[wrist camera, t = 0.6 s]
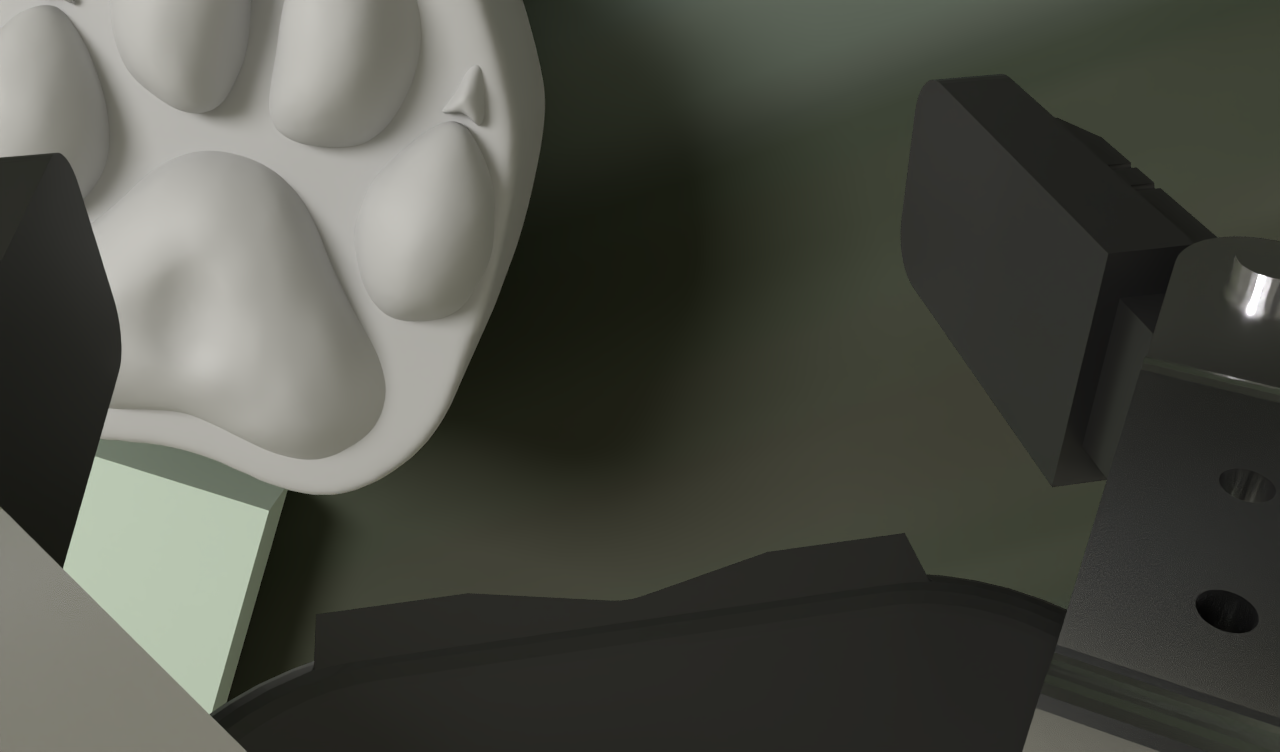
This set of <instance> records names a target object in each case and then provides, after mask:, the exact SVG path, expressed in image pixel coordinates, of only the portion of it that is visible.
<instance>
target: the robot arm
mask: <svg viewBox="0 0 1280 752" xmlns="http://www.w3.org/2000/svg"><path fill="white" fill-rule="evenodd" d="M901 250H902V257H903V263H904V267H905V270H906V273H907V276H908V279H909V281H910V283H911V285H912V286H913V288H914V289H915V291H916V292H917V294H918V295H919V296H920V298H921V299H922V301H923V302H924V304H925V305H926V307H927V308H928V309H929V311H930V312H931V314H932V315H933V317H934V318H935V319H936V321H937V322H938V324H939V325H940V327H941V328H942V330H943V331H944V332H945V334H946V335H947V337H948V338H949V340H950V341H951V342H952V344H953V345H954V347H955V348H956V350H957V351H958V353H959V354H960V355H961V357H962V358H963V360H964V361H965V363H966V364H967V365H968V367H969V368H970V370H971V371H972V373H973V374H974V376H975V377H976V378H977V380H978V381H979V383H980V384H981V386H982V387H983V388H984V390H985V391H986V393H987V394H988V396H989V397H990V399H991V400H992V401H993V403H994V404H995V406H996V407H997V409H998V410H999V411H1000V413H1001V414H1002V416H1003V417H1004V419H1005V420H1006V422H1007V423H1008V424H1009V426H1010V427H1011V429H1012V430H1013V432H1014V433H1015V434H1016V436H1017V437H1018V439H1019V440H1020V442H1021V443H1022V445H1023V446H1024V447H1025V449H1026V450H1027V452H1028V453H1029V455H1030V456H1031V457H1032V459H1033V460H1034V462H1035V463H1036V465H1037V466H1038V467H1039V469H1040V470H1041V472H1042V473H1043V475H1044V476H1045V478H1046V479H1047V480H1048V482H1049V483H1050V485H1051V486H1052V487H1056V486H1064V485H1071V484H1078V483H1086V482H1093V481H1101V480H1107V482H1106V485H1105V488H1104V491H1103V495H1102V498H1101V501H1100V505H1099V508H1098V511H1097V514H1096V518H1095V521H1094V524H1093V527H1092V531H1091V534H1090V537H1089V541H1088V544H1087V547H1086V550H1085V554H1084V557H1083V560H1082V564H1081V567H1080V570H1079V573H1078V577H1077V580H1076V583H1075V586H1074V590H1073V593H1072V596H1071V600H1070V603H1069V606H1068V609H1067V610H1066V609H1064V608H1061V607H1059V606H1057V605H1054V604H1052V603H1050V602H1047V601H1045V600H1043V599H1040V598H1037V597H1033V596H1030V595H1027V594H1024V593H1021V592H1018V591H1015V590H1012V589H1009V588H1005V587H1001V586H997V585H992V584H988V583H984V582H980V581H975V580H969V579H962V578H955V577H948V576H940V575H926V573H925V571H924V569H923V567H922V566H921V564H920V562H919V560H918V558H917V556H916V554H915V552H914V550H913V548H912V546H911V544H910V542H909V541H908V539H907V537H906V535H905V533H902V534H895V535H888V536H880V537H873V538H866V539H859V540H851V541H844V542H837V543H830V544H823V545H815V546H808V547H801V548H794V549H786V550H779V551H772V552H766V553H763V554H761V555H758V556H755V557H752V558H749V559H746V560H744V561H741V562H738V563H735V564H732V565H729V566H727V567H724V568H721V569H718V570H715V571H712V572H710V573H707V574H704V575H701V576H698V577H696V578H693V579H690V580H687V581H684V582H681V583H679V584H676V585H673V586H670V587H667V588H664V589H662V590H659V591H656V592H653V593H650V594H647V595H645V596H642V597H638V598H634V599H629V600H622V601H605V600H586V599H566V598H547V597H527V596H508V595H488V594H469V593H468V594H461V595H453V596H446V597H439V598H432V599H424V600H417V601H410V602H403V603H395V604H388V605H381V606H374V607H367V608H359V609H352V610H345V611H338V612H330V613H323V614H316V631H315V652H314V661H313V662H310V663H308V664H305V665H302V666H299V667H297V668H294V669H291V670H289V671H287V672H284V673H282V674H280V675H278V676H276V677H274V678H271V679H269V680H267V681H265V682H263V683H260V684H258V685H256V686H254V687H253V688H251V689H249V690H247V691H246V692H244V693H242V694H240V695H239V696H237V697H235V698H233V699H232V700H230V701H228V702H226V703H225V704H223V705H222V706H220V707H219V708H217V709H216V710H215V711H213V712H212V713H210V714H208V713H207V712H206V711H205V710H204V709H203V708H202V707H201V706H200V705H199V704H198V703H197V702H196V701H195V700H194V699H193V698H192V697H191V696H190V695H189V694H188V693H187V692H186V691H185V690H184V689H183V688H182V687H181V686H180V685H179V684H178V683H177V682H176V681H175V680H174V679H173V678H172V677H171V676H170V675H169V674H168V673H167V672H166V671H165V670H164V669H163V668H162V667H161V666H160V665H159V664H158V663H157V662H156V661H155V660H154V659H153V658H152V657H151V656H150V655H149V654H148V653H147V652H146V651H145V650H144V649H143V648H142V647H141V646H140V645H139V644H138V643H137V642H136V641H135V640H134V639H133V638H132V637H131V636H130V635H129V634H128V633H127V632H126V631H125V630H124V629H123V628H122V627H121V626H120V625H119V624H118V623H117V622H116V621H115V620H114V619H113V618H112V617H111V616H110V615H109V614H108V613H107V612H106V611H105V610H104V609H103V608H102V607H101V606H100V605H99V604H98V603H97V602H96V601H95V600H94V599H93V598H92V597H91V596H90V595H89V594H88V593H87V592H86V591H85V590H84V589H83V588H82V587H81V586H80V585H79V584H78V583H77V582H76V581H75V580H74V579H73V578H72V577H71V576H70V575H69V574H68V573H67V572H66V571H64V570H63V567H64V563H65V560H66V556H67V553H68V549H69V546H70V542H71V539H72V535H73V532H74V528H75V525H76V521H77V518H78V514H79V511H80V507H81V504H82V500H83V497H84V493H85V490H86V486H87V483H88V479H89V476H90V472H91V469H92V465H93V462H94V458H95V455H96V451H97V448H98V444H99V441H100V437H101V434H102V430H103V427H104V423H105V420H106V416H107V413H108V409H109V406H110V402H111V399H112V395H113V392H114V388H115V385H116V381H117V377H118V374H119V370H120V365H121V353H122V346H121V331H120V324H119V318H118V313H117V308H116V304H115V301H114V297H113V294H112V291H111V288H110V284H109V281H108V278H107V275H106V272H105V268H104V265H103V262H102V259H101V255H100V252H99V249H98V246H97V242H96V239H95V236H94V233H93V230H92V226H91V223H90V220H89V217H88V213H87V210H86V207H85V204H84V200H83V197H82V194H81V191H80V188H79V184H78V181H77V179H76V176H75V173H74V171H73V169H72V167H71V165H70V163H69V162H68V160H67V159H66V158H65V157H64V156H63V155H62V154H61V153H47V154H35V155H24V156H12V157H0V752H1280V241H1276V240H1270V239H1264V238H1255V237H1219V238H1217V237H1216V236H1215V235H1214V234H1213V233H1212V232H1210V231H1209V230H1208V229H1207V228H1206V227H1205V226H1204V225H1202V224H1201V223H1200V222H1199V221H1198V220H1197V219H1195V218H1194V217H1193V216H1192V215H1191V214H1190V213H1188V212H1187V211H1186V210H1185V209H1184V208H1183V207H1182V206H1180V205H1179V204H1178V203H1177V202H1176V201H1175V200H1173V199H1172V198H1171V197H1170V196H1169V195H1168V194H1167V193H1165V192H1164V191H1163V190H1162V189H1161V188H1158V189H1155V188H1154V182H1153V181H1151V180H1150V179H1149V178H1148V177H1147V176H1146V175H1145V174H1143V173H1142V172H1141V171H1140V170H1139V169H1138V168H1131V162H1129V161H1128V160H1127V159H1126V158H1125V157H1124V156H1123V155H1121V154H1120V153H1119V152H1118V151H1117V150H1116V149H1114V148H1113V147H1112V146H1111V145H1110V144H1109V143H1108V142H1106V141H1105V140H1104V139H1103V138H1102V137H1099V136H1097V135H1095V134H1093V133H1090V132H1088V131H1086V130H1084V129H1081V128H1079V127H1077V126H1075V125H1072V124H1070V123H1068V122H1066V121H1063V120H1061V119H1059V118H1054V117H1053V116H1052V115H1051V114H1050V113H1049V112H1048V111H1047V110H1045V109H1044V108H1043V107H1042V106H1041V105H1040V104H1039V103H1038V102H1036V101H1035V100H1034V99H1033V98H1032V97H1031V96H1030V95H1029V94H1028V93H1026V92H1025V91H1024V90H1023V89H1022V88H1021V87H1020V86H1019V85H1017V84H1016V83H1015V82H1014V81H1013V80H1012V79H1011V78H1010V77H1008V76H1007V75H1004V74H997V75H985V76H973V77H961V78H949V79H938V80H930V81H928V82H927V83H926V84H925V85H924V86H923V88H922V90H921V91H920V94H919V97H918V100H917V104H916V110H915V117H914V125H913V133H912V141H911V149H910V157H909V165H908V173H907V180H906V188H905V196H904V204H903V212H902V220H901Z"/></svg>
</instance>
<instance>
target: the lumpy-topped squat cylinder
mask: <svg viewBox="0 0 1280 752" xmlns="http://www.w3.org/2000/svg"><path fill="white" fill-rule="evenodd" d="M544 118H545V92H544V84H543V78H542V72H541V67H540V63H539V58H538V54H537V50H536V46H535V42H534V38H533V34H532V30H531V27H530V23H529V20H528V16H527V13H526V9H525V6H524V3H523V0H0V157H12V156H24V155H35V154H47V153H61V154H62V155H63V156H64V157H65V158H66V159H67V160H68V162H69V163H70V165H71V167H72V169H73V171H74V173H75V176H76V179H77V181H78V184H79V188H80V191H81V194H82V197H83V200H84V204H85V207H86V210H87V213H88V217H89V220H90V223H91V226H92V230H93V233H94V236H95V239H96V242H97V246H98V249H99V252H100V255H101V259H102V262H103V265H104V268H105V272H106V275H107V278H108V281H109V284H110V288H111V291H112V294H113V297H114V301H115V304H116V308H117V313H118V318H119V324H120V331H121V346H122V353H121V365H120V370H119V374H118V377H117V381H116V385H115V388H114V392H113V395H112V399H111V402H110V406H109V409H108V413H107V416H106V420H105V423H104V427H103V430H102V434H101V437H100V439H105V440H119V441H127V442H136V443H148V444H156V445H162V446H167V447H172V448H177V449H181V450H185V451H189V452H192V453H196V454H199V455H202V456H205V457H208V458H210V459H213V460H216V461H218V462H221V463H223V464H225V465H227V466H229V467H231V468H234V469H236V470H238V471H240V472H243V473H246V474H248V475H250V476H252V477H254V478H256V479H258V480H261V481H263V482H266V483H269V484H272V485H275V486H278V487H281V488H284V489H288V490H291V491H295V492H300V493H306V494H313V495H334V494H341V493H346V492H349V491H354V490H357V489H359V488H362V487H364V486H367V485H369V484H371V483H374V482H376V481H378V480H380V479H382V478H383V477H385V476H386V475H388V474H389V473H391V472H393V471H394V470H395V469H397V468H398V467H400V466H401V465H402V464H404V463H405V462H406V461H408V460H409V459H410V458H412V457H413V456H414V455H415V454H416V453H417V452H418V451H419V450H420V449H421V448H422V447H423V446H424V444H425V443H426V442H427V441H428V440H429V439H430V437H431V436H432V435H433V434H434V432H435V431H436V429H437V428H438V426H439V425H440V423H441V422H442V420H443V418H444V417H445V415H446V413H447V411H448V409H449V407H450V405H451V403H452V401H453V399H454V397H455V395H456V392H457V390H458V387H459V385H460V383H461V381H462V378H463V376H464V374H465V372H466V369H467V367H468V365H469V363H470V360H471V358H472V356H473V354H474V351H475V349H476V347H477V345H478V342H479V340H480V338H481V336H482V333H483V331H484V329H485V327H486V324H487V322H488V320H489V318H490V315H491V313H492V311H493V309H494V306H495V304H496V301H497V298H498V296H499V293H500V290H501V287H502V285H503V282H504V279H505V276H506V274H507V271H508V269H509V266H510V263H511V261H512V258H513V255H514V252H515V249H516V247H517V244H518V240H519V237H520V234H521V231H522V227H523V224H524V220H525V216H526V212H527V209H528V205H529V201H530V197H531V192H532V188H533V184H534V179H535V174H536V170H537V165H538V159H539V154H540V148H541V142H542V136H543V128H544Z"/></svg>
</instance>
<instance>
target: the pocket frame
mask: <svg viewBox="0 0 1280 752" xmlns="http://www.w3.org/2000/svg"><path fill="white" fill-rule="evenodd" d="M287 490H288V489H284V488H281V487H278V486H275V485H272V484H269V483H266V482H263V481H261V480H258V479H256V478H254V477H252V476H250V475H248V474H246V473H243V472H240V471H238V470H236V469H234V468H231V467H229V466H227V465H225V464H223V463H221V462H218V461H216V460H213V459H210V458H208V457H205V456H202V455H199V454H196V453H192V452H189V451H185V450H181V449H177V448H172V447H167V446H162V445H156V444H148V443H136V442H127V441H119V440H105V439H100V441H99V444H98V448H97V451H96V455H95V458H94V462H93V465H92V469H91V472H90V476H89V479H88V483H87V486H86V490H85V493H84V497H83V500H82V504H81V507H80V511H79V514H78V518H77V521H76V525H75V528H74V532H73V535H72V539H71V542H70V546H69V549H68V553H67V556H66V560H65V563H64V567H63V570H64V571H66V572H67V573H68V574H69V575H70V576H71V577H72V578H73V579H74V580H75V581H76V582H77V583H78V584H79V585H80V586H81V587H82V588H83V589H84V590H85V591H86V592H87V593H88V594H89V595H90V596H91V597H92V598H93V599H94V600H95V601H96V602H97V603H98V604H99V605H100V606H101V607H102V608H103V609H104V610H105V611H106V612H107V613H108V614H109V615H110V616H111V617H112V618H113V619H114V620H115V621H116V622H117V623H118V624H119V625H120V626H121V627H122V628H123V629H124V630H125V631H126V632H127V633H128V634H129V635H130V636H131V637H132V638H133V639H134V640H135V641H136V642H137V643H138V644H139V645H140V646H141V647H142V648H143V649H144V650H145V651H146V652H147V653H148V654H149V655H150V656H151V657H152V658H153V659H154V660H155V661H156V662H157V663H158V664H159V665H160V666H161V667H162V668H163V669H164V670H165V671H166V672H167V673H168V674H169V675H170V676H171V677H172V678H173V679H174V680H175V681H176V682H177V683H178V684H179V685H180V686H181V687H182V688H183V689H184V690H185V691H186V692H187V693H188V694H189V695H190V696H191V697H192V698H193V699H194V700H195V701H196V702H197V703H198V704H199V705H200V706H201V707H202V708H203V709H204V710H205V711H206V712H207V713H208V714H210V713H212V712H213V711H215V710H216V709H217V708H219V707H220V706H222V705H223V704H225V703H226V702H227V699H228V696H229V692H230V689H231V686H232V682H233V679H234V675H235V672H236V668H237V665H238V661H239V658H240V654H241V651H242V647H243V644H244V640H245V637H246V633H247V630H248V626H249V623H250V619H251V616H252V612H253V609H254V605H255V602H256V598H257V595H258V591H259V588H260V585H261V581H262V578H263V574H264V571H265V567H266V564H267V560H268V557H269V553H270V550H271V546H272V543H273V539H274V536H275V532H276V529H277V525H278V522H279V518H280V515H281V511H282V508H283V504H284V501H285V497H286V494H287Z"/></svg>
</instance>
